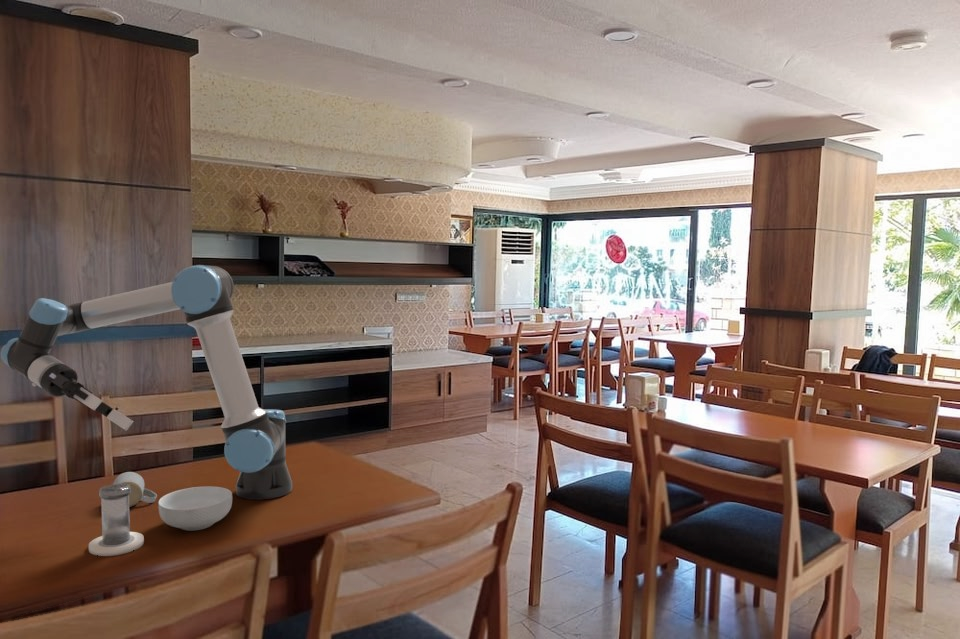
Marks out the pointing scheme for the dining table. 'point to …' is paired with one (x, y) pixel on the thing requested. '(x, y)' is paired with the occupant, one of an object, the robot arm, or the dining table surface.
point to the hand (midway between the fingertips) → (114, 415)
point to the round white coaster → (116, 546)
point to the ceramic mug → (136, 488)
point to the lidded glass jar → (115, 513)
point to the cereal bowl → (195, 507)
